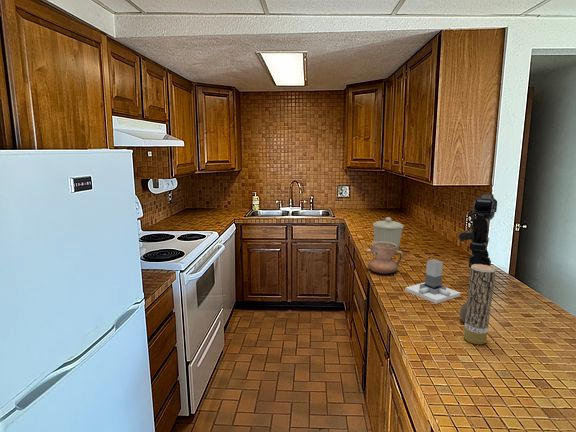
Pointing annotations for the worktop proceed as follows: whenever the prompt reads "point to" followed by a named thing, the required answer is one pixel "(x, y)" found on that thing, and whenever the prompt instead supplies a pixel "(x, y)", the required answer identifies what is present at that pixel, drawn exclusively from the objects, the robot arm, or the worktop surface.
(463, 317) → the vase
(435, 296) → the plate
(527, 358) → the worktop surface
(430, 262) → the silver metal block
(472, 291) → the bark covered log
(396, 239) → the canister
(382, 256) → the ceramic jug
